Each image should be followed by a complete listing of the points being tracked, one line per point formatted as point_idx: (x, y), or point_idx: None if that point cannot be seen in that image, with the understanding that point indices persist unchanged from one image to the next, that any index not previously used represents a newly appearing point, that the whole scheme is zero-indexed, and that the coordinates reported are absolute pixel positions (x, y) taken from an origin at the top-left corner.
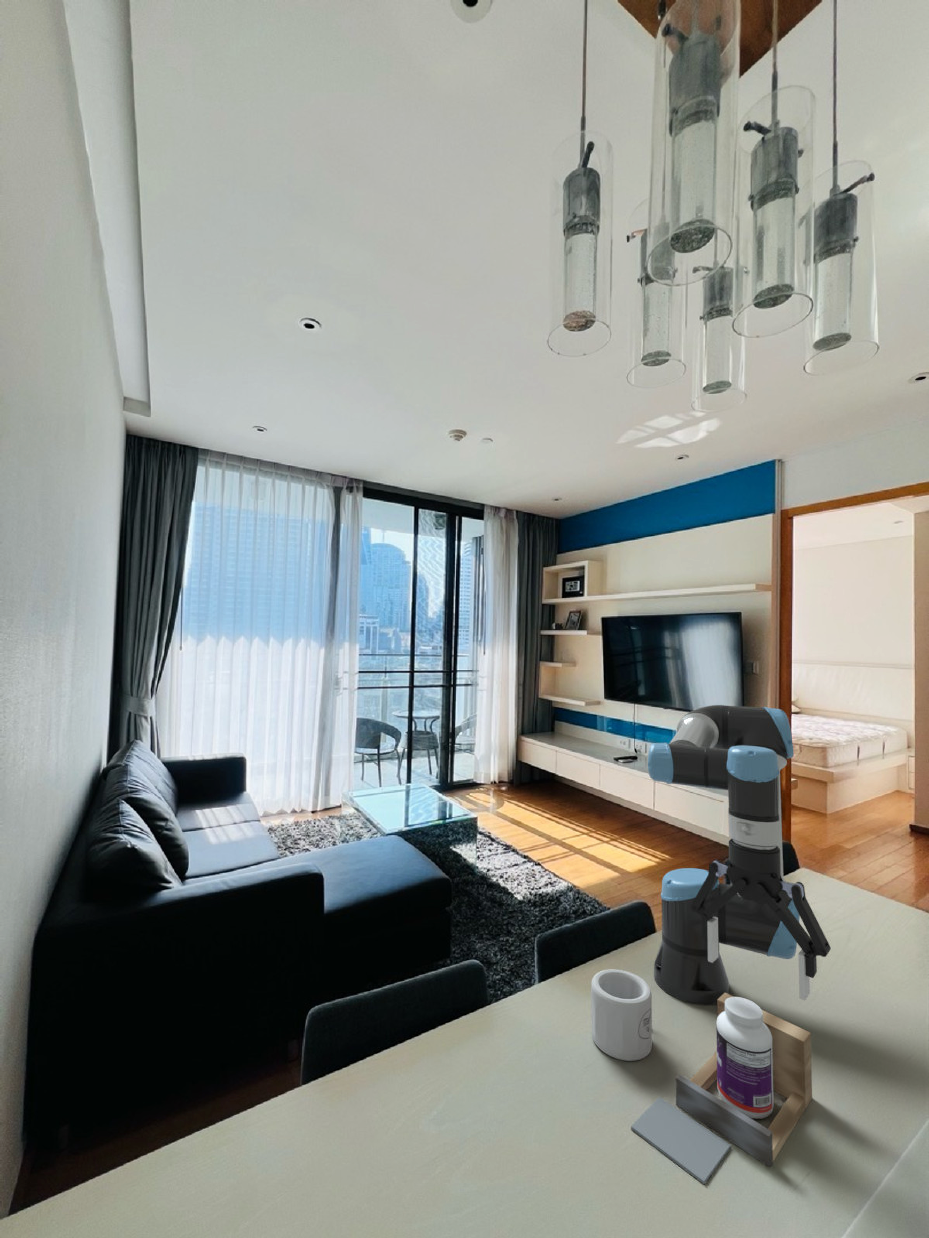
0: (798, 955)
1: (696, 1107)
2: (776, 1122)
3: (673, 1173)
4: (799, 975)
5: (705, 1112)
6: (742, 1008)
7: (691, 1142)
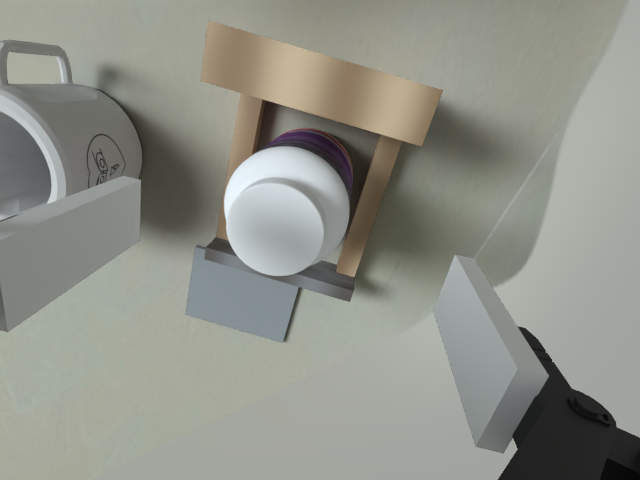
0: (472, 435)
1: None
2: (358, 219)
3: (250, 343)
4: (451, 363)
5: None
6: (272, 237)
7: (256, 299)
